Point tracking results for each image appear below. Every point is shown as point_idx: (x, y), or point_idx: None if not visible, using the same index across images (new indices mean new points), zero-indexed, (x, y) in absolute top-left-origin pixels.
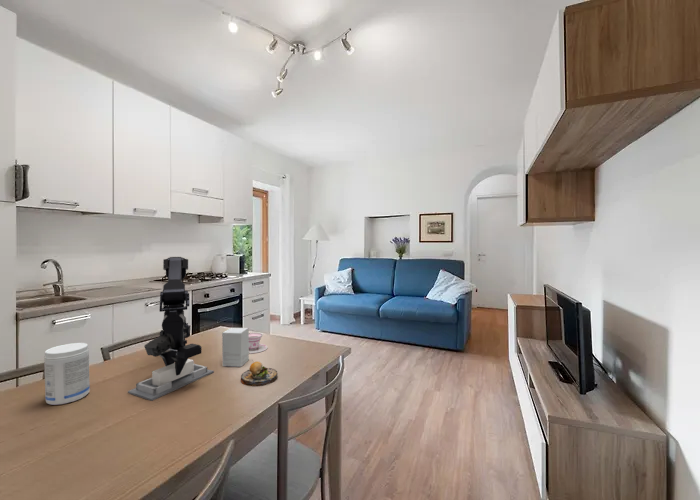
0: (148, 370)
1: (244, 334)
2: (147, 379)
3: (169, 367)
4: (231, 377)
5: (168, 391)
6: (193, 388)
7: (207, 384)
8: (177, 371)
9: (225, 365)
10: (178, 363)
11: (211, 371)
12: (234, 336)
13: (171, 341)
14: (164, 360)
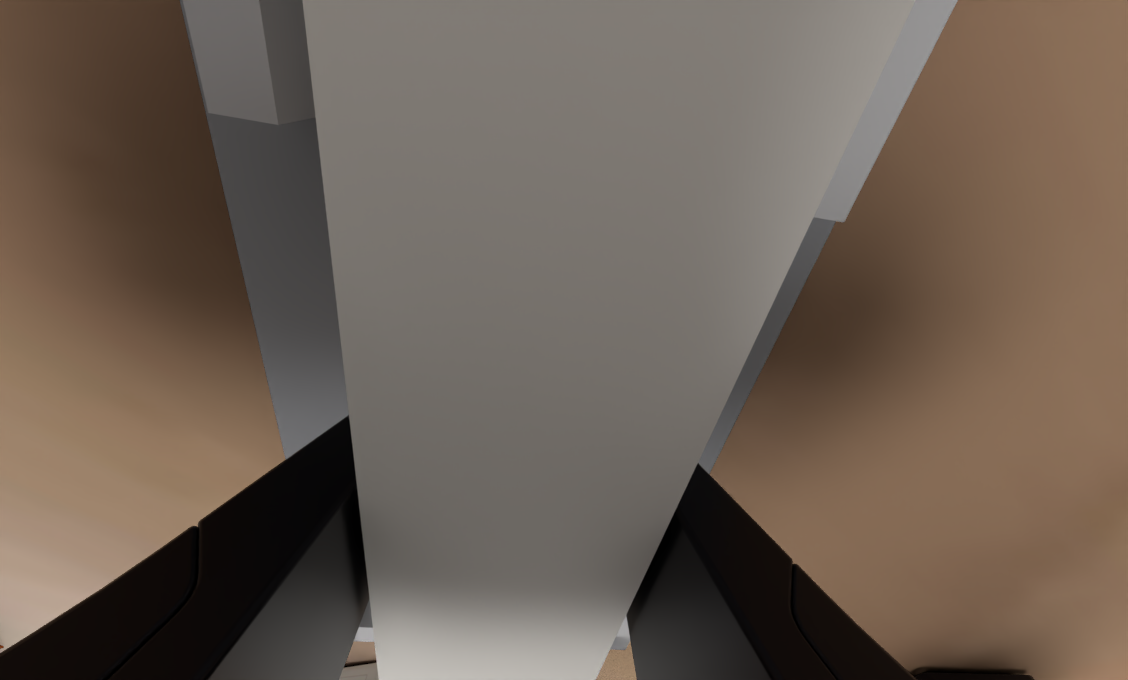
0: (1049, 469)
1: None
2: (909, 65)
3: (510, 460)
4: (39, 563)
5: None
6: (47, 252)
7: (41, 395)
8: (339, 428)
9: (351, 673)
10: (25, 660)
11: None
12: None
13: None
14: (844, 674)
